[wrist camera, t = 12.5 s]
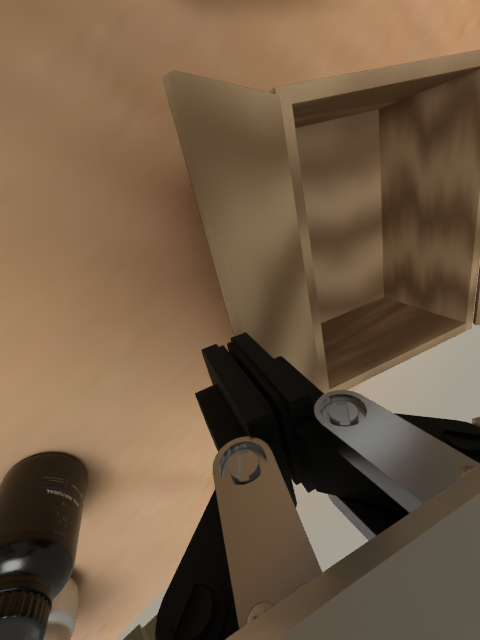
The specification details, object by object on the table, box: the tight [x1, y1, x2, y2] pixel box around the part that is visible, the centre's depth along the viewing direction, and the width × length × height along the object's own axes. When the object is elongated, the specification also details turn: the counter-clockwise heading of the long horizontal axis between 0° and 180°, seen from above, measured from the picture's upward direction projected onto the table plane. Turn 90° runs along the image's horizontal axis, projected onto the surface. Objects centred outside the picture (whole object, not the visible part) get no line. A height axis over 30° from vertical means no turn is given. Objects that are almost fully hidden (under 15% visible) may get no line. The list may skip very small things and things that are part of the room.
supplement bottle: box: [0, 453, 87, 640], centre depth 22 cm, size 7×7×12 cm
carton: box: [269, 50, 480, 394], centre depth 25 cm, size 20×16×10 cm
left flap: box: [162, 70, 322, 391], centre depth 15 cm, size 19×8×1 cm
